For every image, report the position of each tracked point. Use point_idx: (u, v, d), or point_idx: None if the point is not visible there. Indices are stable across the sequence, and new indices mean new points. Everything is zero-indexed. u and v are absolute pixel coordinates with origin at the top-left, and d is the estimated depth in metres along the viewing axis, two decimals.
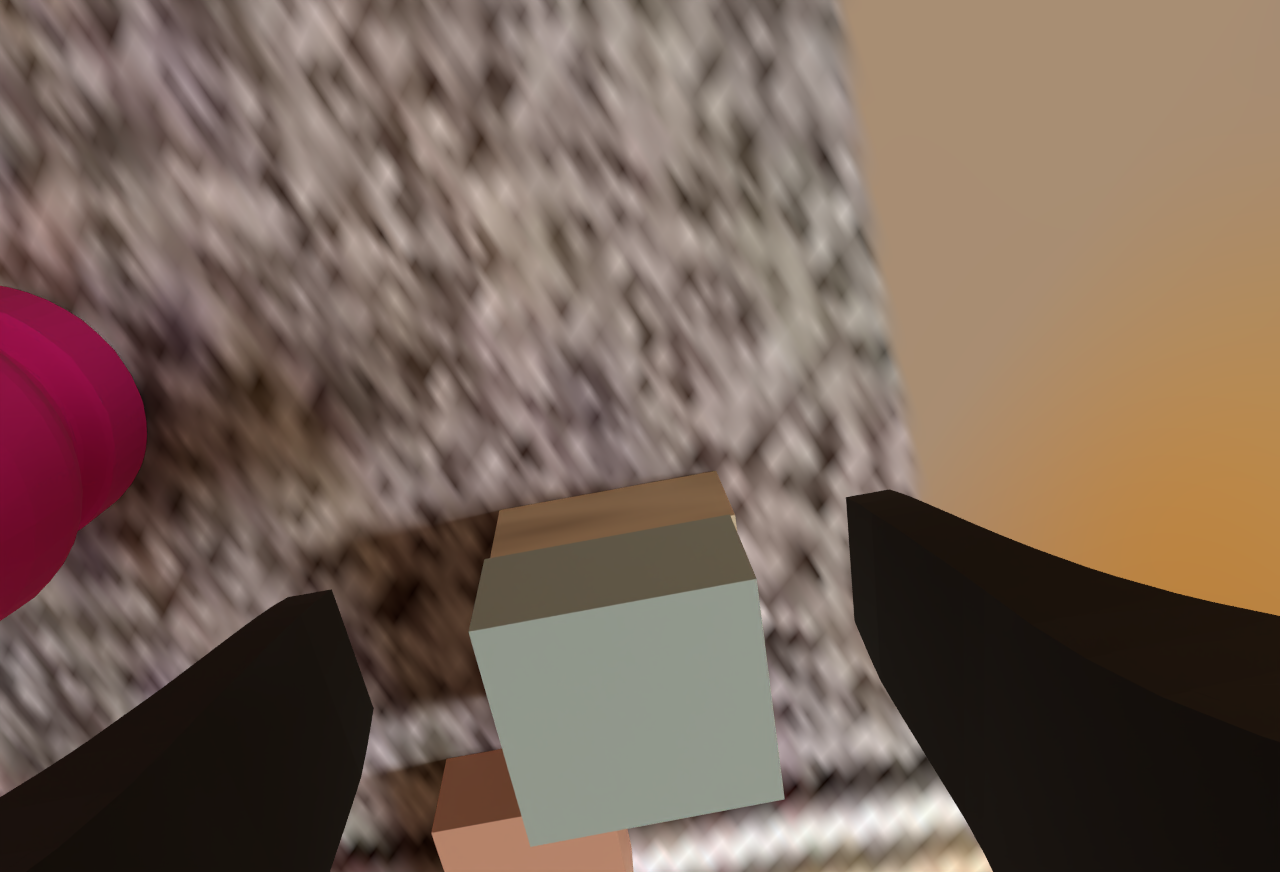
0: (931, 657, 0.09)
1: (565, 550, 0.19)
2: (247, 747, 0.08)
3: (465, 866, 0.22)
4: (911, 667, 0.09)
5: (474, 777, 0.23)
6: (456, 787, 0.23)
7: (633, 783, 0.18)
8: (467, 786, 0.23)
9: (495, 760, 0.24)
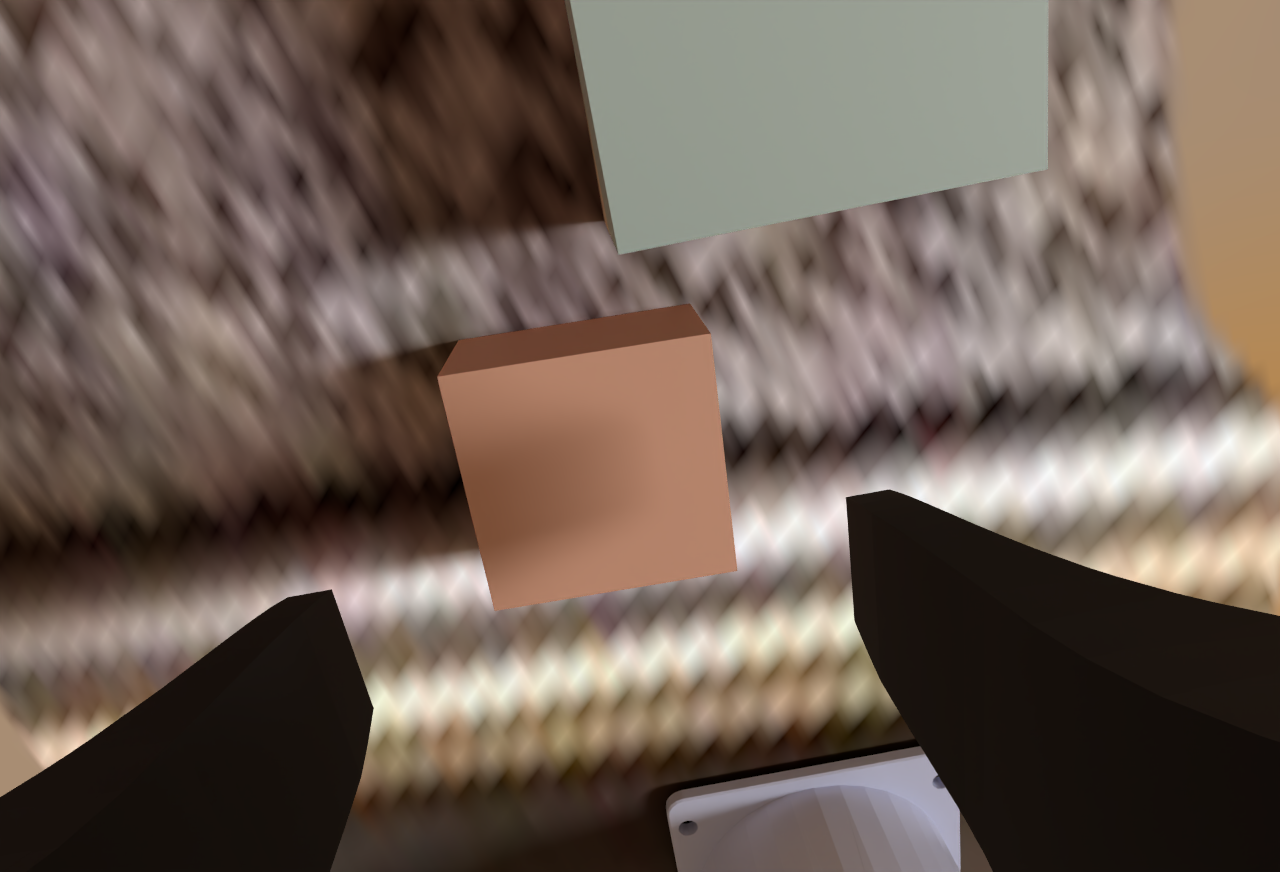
0: (931, 657, 0.09)
1: None
2: (247, 747, 0.08)
3: (487, 444, 0.15)
4: (911, 667, 0.09)
5: (500, 344, 0.16)
6: (473, 351, 0.16)
7: (798, 115, 0.10)
8: (491, 349, 0.15)
9: (530, 333, 0.16)
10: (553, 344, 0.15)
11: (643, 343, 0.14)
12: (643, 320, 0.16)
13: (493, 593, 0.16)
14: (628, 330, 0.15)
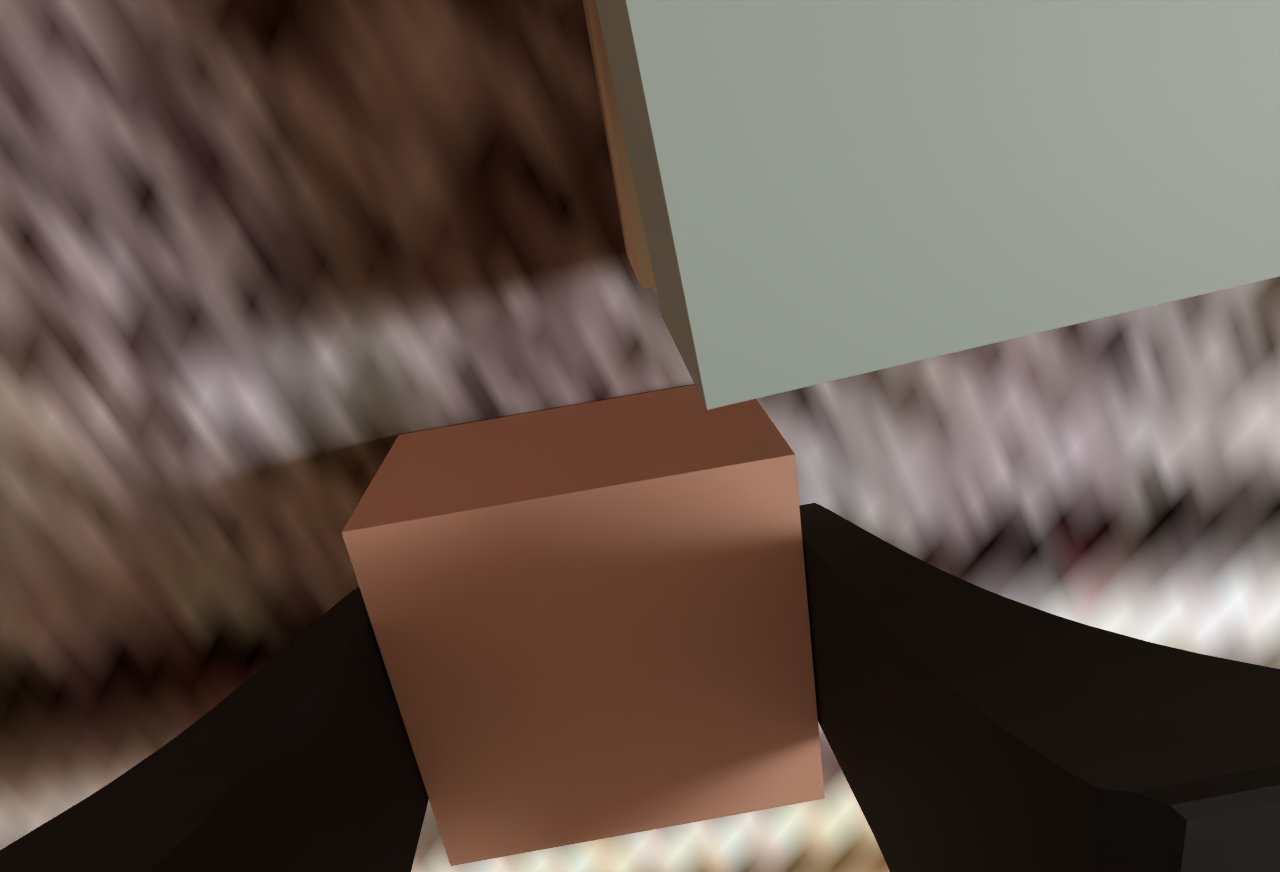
0: (841, 674, 0.09)
1: None
2: (345, 729, 0.08)
3: (430, 632, 0.09)
4: (827, 682, 0.09)
5: (455, 454, 0.10)
6: (412, 470, 0.10)
7: (1078, 125, 0.05)
8: (438, 466, 0.10)
9: (503, 432, 0.11)
10: (536, 462, 0.10)
11: (683, 471, 0.09)
12: (676, 414, 0.10)
13: (448, 841, 0.10)
14: (655, 436, 0.10)
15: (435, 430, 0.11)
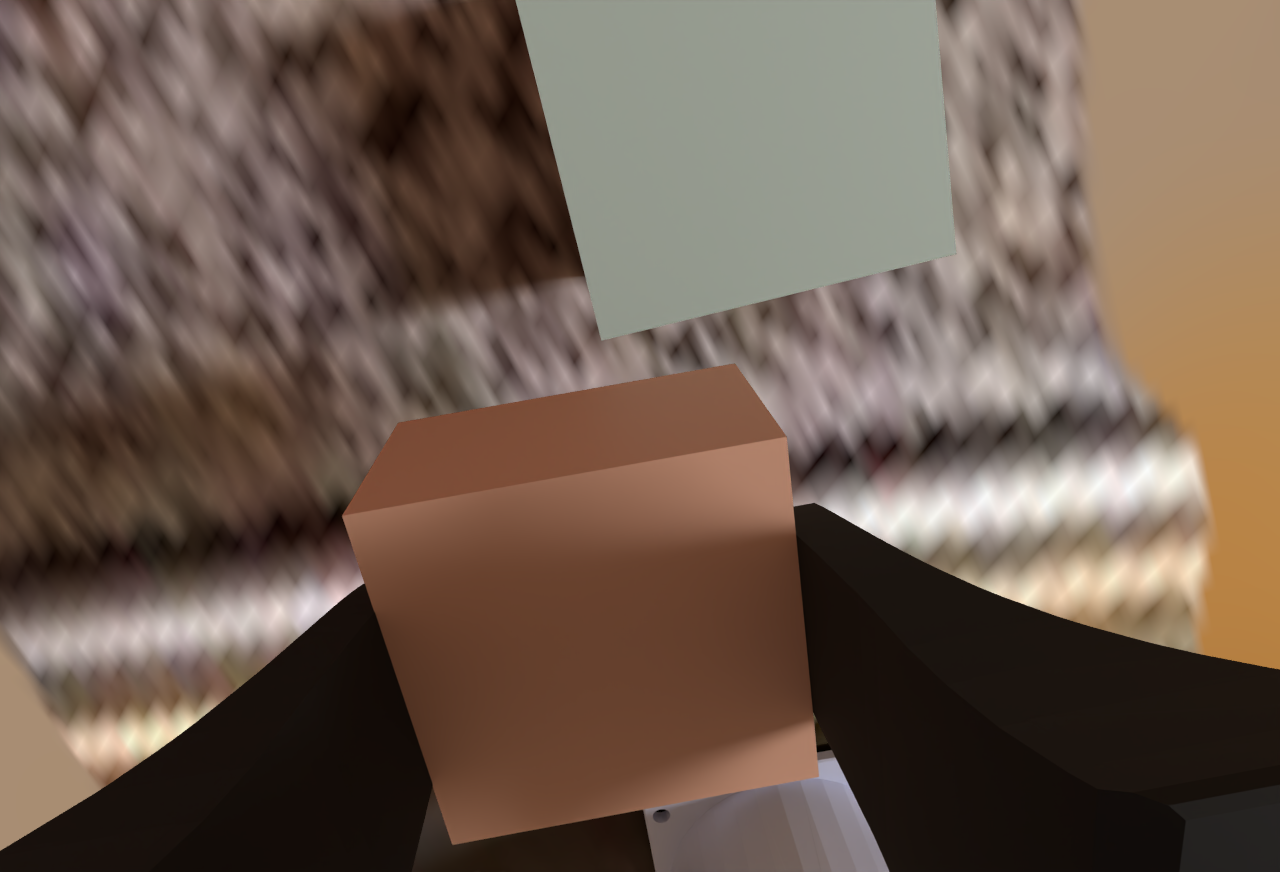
0: (840, 674, 0.09)
1: None
2: (346, 729, 0.08)
3: (430, 614, 0.09)
4: (826, 683, 0.09)
5: (453, 441, 0.10)
6: (411, 456, 0.10)
7: (744, 223, 0.12)
8: (438, 452, 0.10)
9: (500, 419, 0.11)
10: (533, 447, 0.10)
11: (677, 454, 0.09)
12: (671, 400, 0.10)
13: (449, 821, 0.10)
14: (649, 421, 0.10)
15: (434, 418, 0.11)
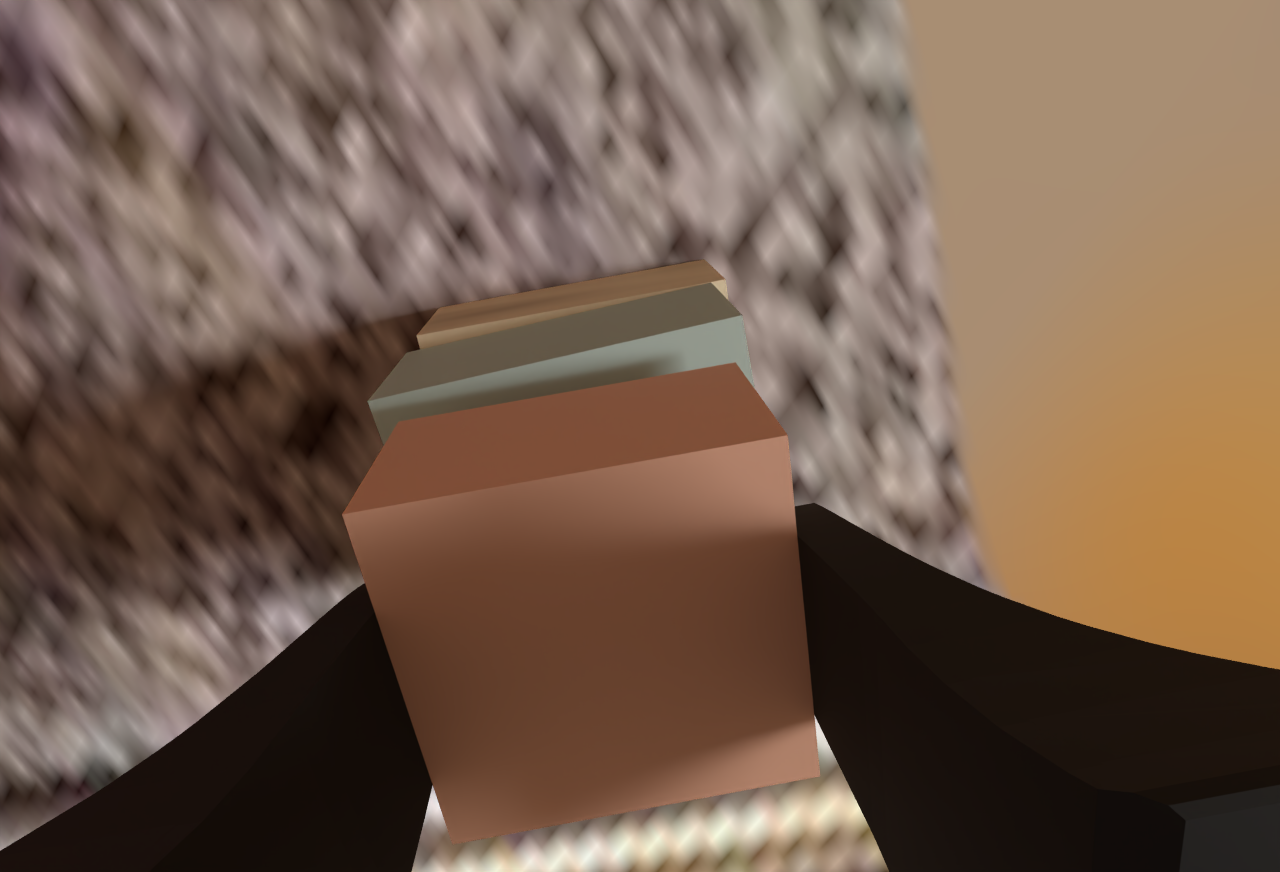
0: (840, 674, 0.09)
1: (505, 333, 0.15)
2: (345, 729, 0.08)
3: (430, 612, 0.09)
4: (826, 683, 0.09)
5: (453, 439, 0.10)
6: (411, 454, 0.10)
7: None
8: (437, 450, 0.10)
9: (501, 418, 0.11)
10: (533, 446, 0.10)
11: (678, 453, 0.09)
12: (672, 399, 0.10)
13: (449, 821, 0.10)
14: (650, 420, 0.10)
15: (434, 417, 0.11)
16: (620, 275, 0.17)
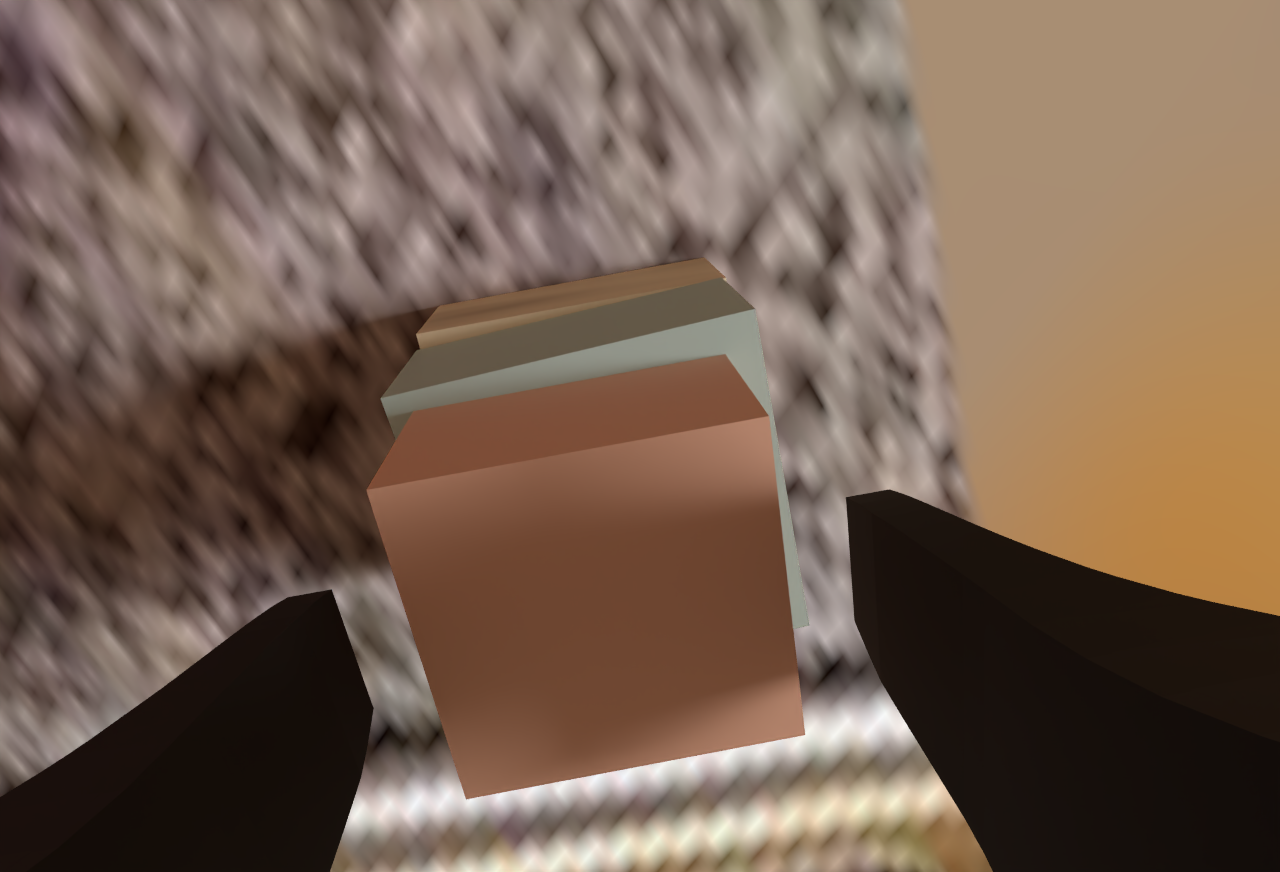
0: (931, 657, 0.09)
1: (516, 329, 0.15)
2: (247, 747, 0.08)
3: (446, 580, 0.10)
4: (911, 667, 0.09)
5: (465, 425, 0.11)
6: (427, 438, 0.11)
7: None
8: (451, 435, 0.11)
9: (508, 406, 0.12)
10: (538, 429, 0.11)
11: (670, 433, 0.10)
12: (665, 387, 0.11)
13: (463, 777, 0.11)
14: (645, 405, 0.11)
15: (446, 406, 0.12)
16: (620, 273, 0.17)
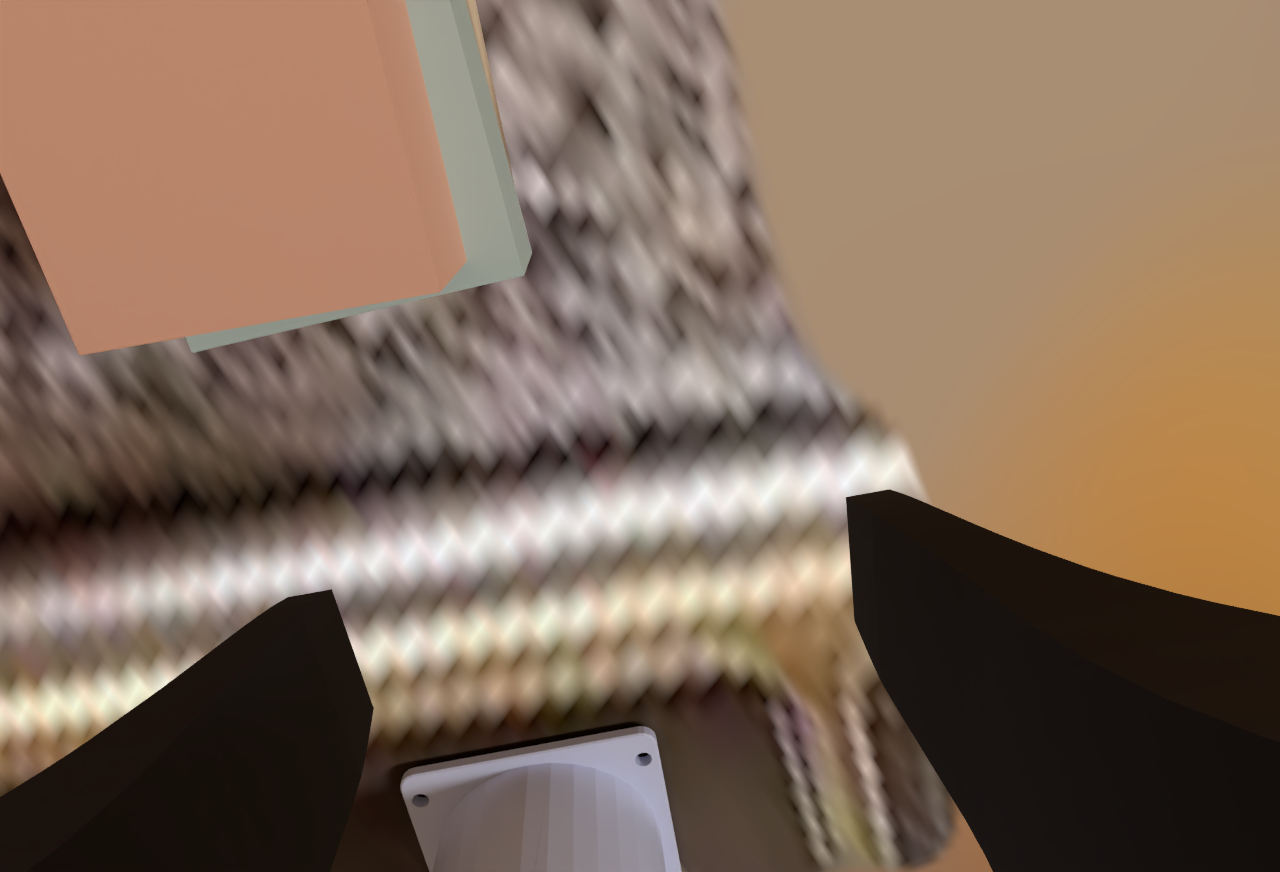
0: (931, 657, 0.09)
1: None
2: (247, 747, 0.08)
3: (7, 63, 0.09)
4: (911, 667, 0.09)
5: None
6: None
7: None
8: None
9: None
10: None
11: None
12: None
13: (71, 325, 0.11)
14: None
15: None
16: None
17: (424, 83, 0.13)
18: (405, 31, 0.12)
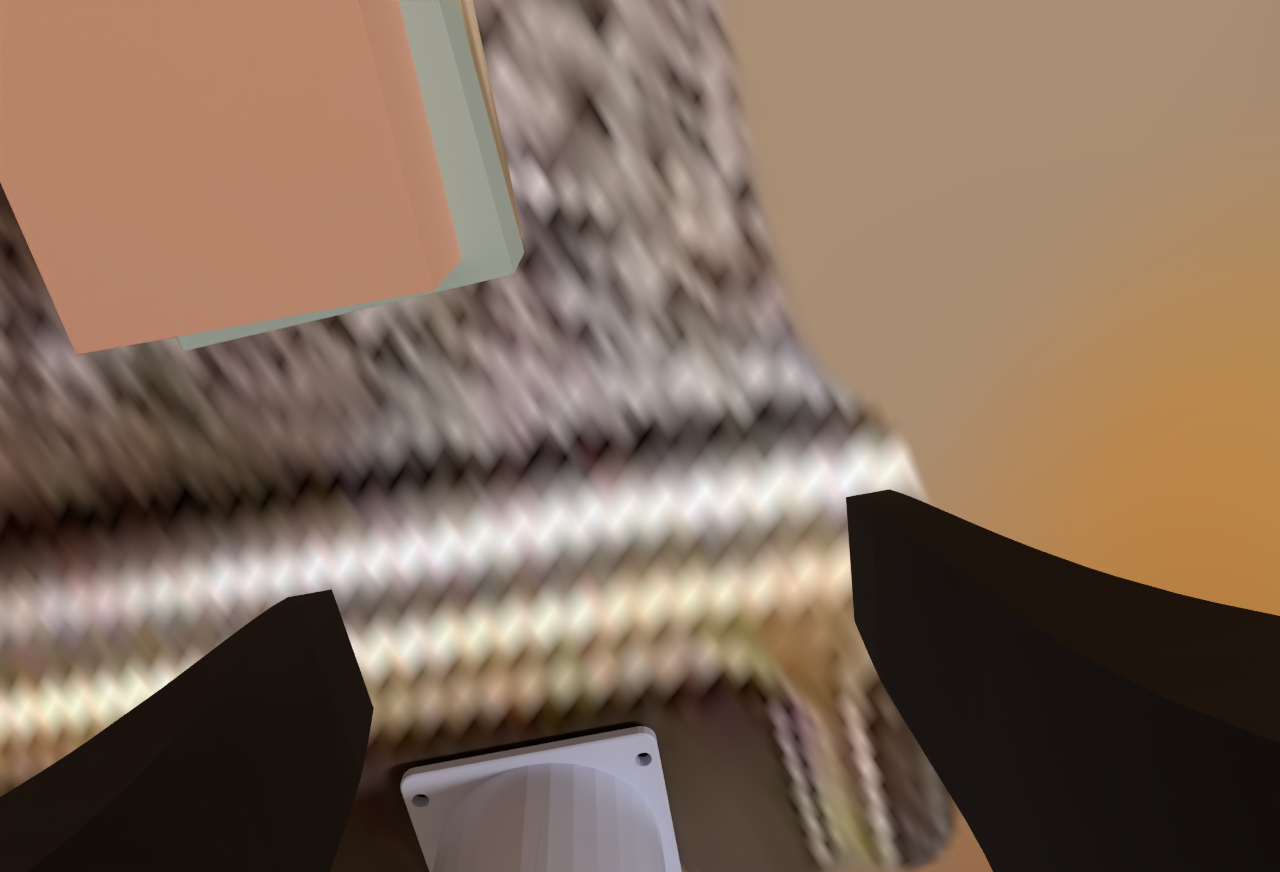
0: (931, 657, 0.09)
1: None
2: (247, 747, 0.08)
3: (3, 65, 0.10)
4: (911, 667, 0.09)
5: None
6: None
7: None
8: None
9: None
10: None
11: None
12: None
13: (68, 325, 0.11)
14: None
15: None
16: None
17: (418, 83, 0.13)
18: (399, 31, 0.12)
